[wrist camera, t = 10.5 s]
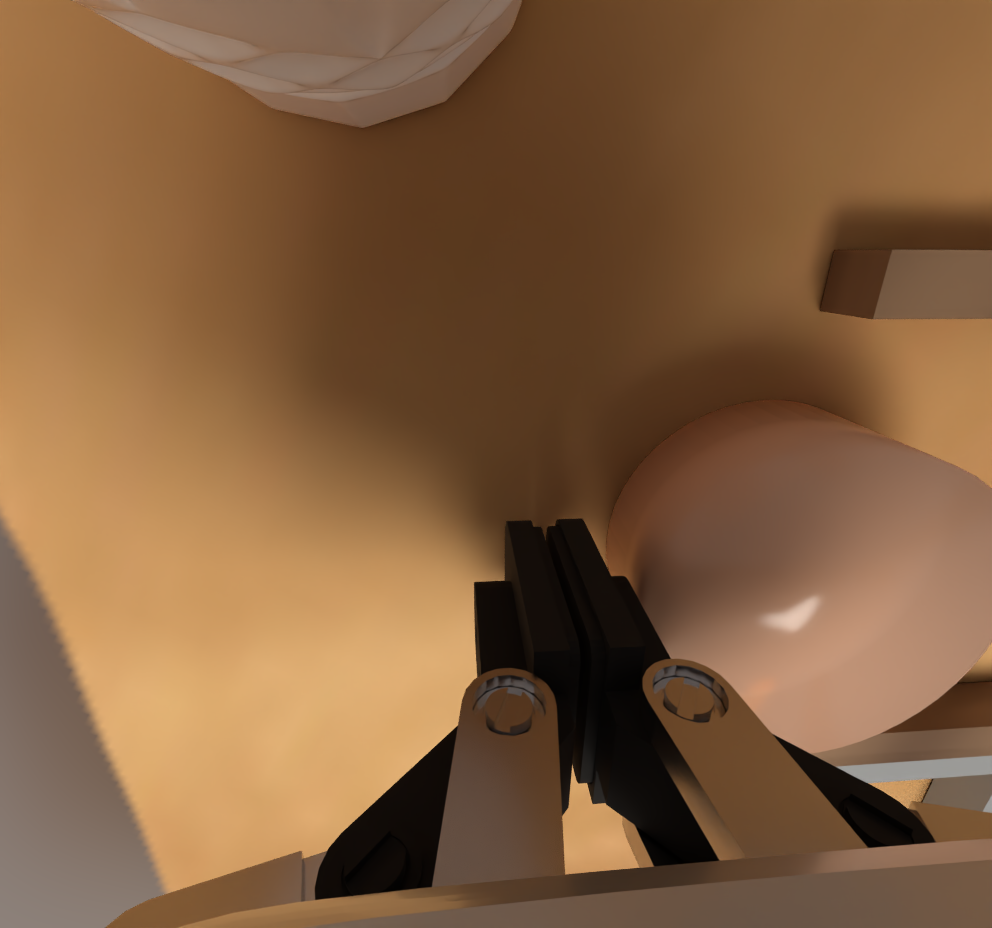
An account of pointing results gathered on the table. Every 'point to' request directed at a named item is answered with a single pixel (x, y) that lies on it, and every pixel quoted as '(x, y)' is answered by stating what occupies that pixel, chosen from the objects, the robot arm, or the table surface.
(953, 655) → the beige flattened dome
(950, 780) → the frame
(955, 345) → the table surface
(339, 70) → the white cup
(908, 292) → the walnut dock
